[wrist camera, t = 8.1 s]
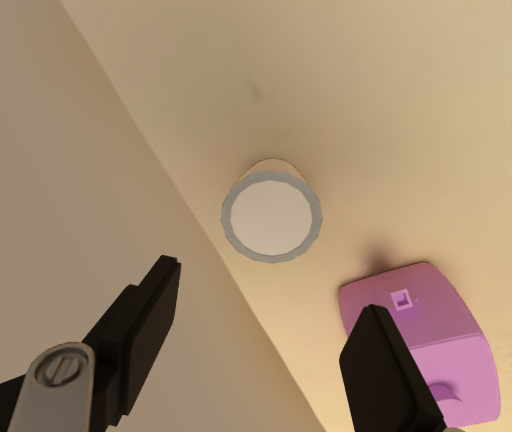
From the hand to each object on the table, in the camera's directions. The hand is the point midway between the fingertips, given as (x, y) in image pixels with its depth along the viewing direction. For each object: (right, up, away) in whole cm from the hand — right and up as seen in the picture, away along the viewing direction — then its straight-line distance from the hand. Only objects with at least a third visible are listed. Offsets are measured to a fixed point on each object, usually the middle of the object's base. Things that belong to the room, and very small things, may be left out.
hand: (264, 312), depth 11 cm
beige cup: (+1, +6, +15) cm, 16 cm away
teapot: (+14, -6, +19) cm, 24 cm away
